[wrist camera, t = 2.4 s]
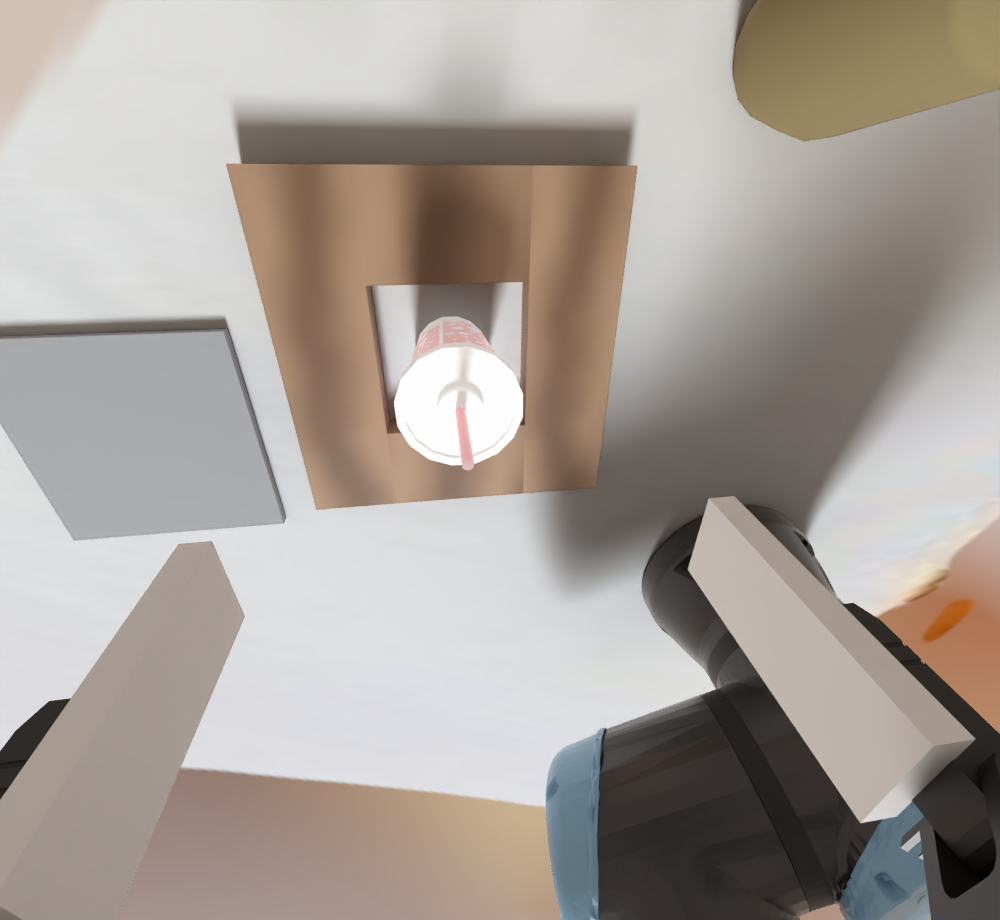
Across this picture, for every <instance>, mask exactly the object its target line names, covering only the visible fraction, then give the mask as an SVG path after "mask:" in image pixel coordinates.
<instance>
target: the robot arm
mask: <svg viewBox="0 0 1000 920" xmlns="http://www.w3.org/2000/svg"><path fill="white" fill-rule="evenodd" d="M642 592H643V597H644V600H645V603H646V605H647V606H648V608H649V610H650V612H651V614H652V616H653V618H654V620H655V621H656V623H657V624H658V625H659V627H660V628H661V629H662V630H663V631H664V632H666V633H667V634H668V635H670V636H671V637H672V638H673V639H674V640H675V642H677V643H678V644H679V645H680V646H681V647H682V648H683V649H684V650H685V651H686V652H687V653H688V654H689V655H690V656H691V657H692V658H693V659H694V660H695V661H696V662H697V663H698V664H699V665H700V666H702V667H703V668H704V670H705V671H706V672H707V674H708V675H709V677H710V679H711V681H712V682H713V684H714V686H715V688H716V690H713V691H711V692H708V693H705V694H703V695H699V696H696V697H693V698H690V699H688V700H685V701H682V702H680V703H677V704H674V705H671V706H669V707H666V708H663V709H660V710H658V711H655V712H652V713H650V714H647V715H644V716H641V717H639V718H636V719H633V720H630V721H628V722H625V723H622V724H620V725H617V726H614V727H611V728H609V729H607V728H601V729H600V730H598V732H597V734H595V735H592V736H590V737H588V738H585V739H583V740H581V741H578V742H576V743H574V744H571V745H569V746H567V747H565V748H563V749H562V750H561V751H560V752H558V753H557V755H556V756H555V758H554V759H553V761H552V763H551V766H550V769H549V773H548V778H547V786H546V820H547V835H548V844H549V854H550V860H551V869H552V875H553V881H554V887H555V892H556V897H557V902H558V906H559V911H560V916H561V920H800V918H799V916H801V915H803V914H806V913H808V912H810V911H812V910H816V909H819V908H822V907H825V906H828V905H832V904H839V905H840V911H841V912H842V914H843V916H844V918H845V919H846V920H926V919H928V918H930V917H931V920H1000V734H999V733H998V732H997V731H996V730H995V729H994V728H993V727H992V726H991V725H990V724H989V723H987V722H986V721H985V720H984V719H983V718H982V717H981V716H980V715H979V714H978V713H977V712H976V711H975V710H974V709H973V708H972V707H971V706H970V705H969V704H968V703H967V702H966V701H964V700H963V699H962V698H961V697H960V696H959V695H958V694H957V693H956V692H955V691H954V690H953V689H952V688H951V687H950V686H949V685H948V684H947V683H946V682H945V681H943V680H942V679H941V678H940V677H939V676H938V675H937V674H936V673H935V672H934V671H933V670H932V669H931V668H930V667H929V666H928V665H927V664H926V663H925V664H923V663H922V662H921V659H920V658H919V657H918V656H917V655H916V654H915V653H914V652H913V651H912V650H911V649H910V648H909V647H908V646H904V645H903V643H902V641H901V639H900V638H898V637H897V636H896V635H895V634H894V633H893V632H892V631H891V630H890V629H889V628H888V627H887V626H886V625H885V624H884V623H883V622H882V621H880V620H879V619H878V618H876V617H875V616H873V615H871V614H870V613H868V612H867V611H865V610H864V609H862V608H860V607H859V606H857V605H856V604H854V603H849V604H844V603H843V602H842V601H841V600H840V599H839V598H838V597H837V595H836V593H835V591H834V589H833V587H832V585H831V584H830V582H829V580H828V578H827V576H826V574H825V572H824V570H823V568H822V567H821V565H820V563H819V562H818V560H817V559H816V557H815V555H814V551H813V548H812V546H811V544H810V542H809V541H808V539H807V538H806V536H805V535H804V534H803V533H802V532H801V531H800V530H799V529H798V528H797V527H796V526H795V525H794V524H792V523H791V522H790V521H789V520H788V519H787V518H786V517H785V516H783V515H782V514H780V513H779V512H777V511H775V510H772V509H769V508H765V507H759V506H744V505H743V504H742V503H741V502H740V501H739V500H738V499H737V498H736V497H735V496H727V497H716V498H709V499H708V502H707V506H706V509H705V513H704V516H703V517H701V518H699V519H697V520H695V521H693V522H691V523H689V524H688V525H686V526H685V527H683V528H682V529H680V530H679V531H677V532H676V533H675V534H674V535H672V536H671V537H670V538H669V539H668V540H667V541H666V542H665V543H664V544H663V545H662V546H661V547H660V548H659V549H658V551H657V552H656V553H655V555H654V556H653V558H652V559H651V561H650V563H649V564H648V567H647V569H646V571H645V574H644V578H643V584H642ZM244 617H245V616H244V614H243V611H242V609H241V607H240V604H239V602H238V600H237V598H236V595H235V593H234V591H233V588H232V586H231V584H230V582H229V579H228V577H227V575H226V572H225V570H224V568H223V565H222V563H221V561H220V559H219V556H218V554H217V552H216V549H215V547H214V545H213V543H212V541H209V542H197V543H186V544H178V546H177V547H176V549H175V550H174V552H173V553H172V554H171V556H170V557H169V559H168V560H167V562H166V563H165V564H164V566H163V567H162V569H161V570H160V572H159V573H158V575H157V576H156V577H155V579H154V580H153V582H152V583H151V585H150V586H149V587H148V589H147V590H146V592H145V593H144V595H143V596H142V597H141V599H140V600H139V602H138V603H137V605H136V606H135V608H134V609H133V610H132V612H131V613H130V615H129V616H128V618H127V619H126V620H125V622H124V623H123V625H122V626H121V628H120V629H119V630H118V632H117V633H116V635H115V636H114V638H113V639H112V640H111V642H110V643H109V645H108V646H107V648H106V649H105V651H104V652H103V653H102V655H101V656H100V658H99V659H98V661H97V662H96V663H95V665H94V666H93V668H92V669H91V671H90V672H89V673H88V675H87V676H86V678H85V679H84V681H83V682H82V683H81V685H80V686H79V688H78V689H77V691H76V692H75V694H74V695H73V696H72V698H71V699H63V700H55V701H49V702H48V703H47V704H46V705H44V706H43V707H42V708H41V709H40V710H39V711H38V712H36V713H35V714H34V715H33V716H32V717H31V718H30V719H29V720H27V721H26V722H25V723H24V724H23V725H22V726H21V727H19V728H18V729H17V730H16V731H15V732H14V734H13V735H12V736H11V738H10V739H9V740H8V742H7V743H6V744H5V746H4V747H3V748H2V750H1V751H0V920H116V918H117V915H118V913H119V910H120V908H121V906H122V903H123V901H124V899H125V896H126V894H127V892H128V889H129V887H130V885H131V882H132V880H133V878H134V875H135V873H136V870H137V868H138V866H139V864H140V861H141V859H142V857H143V854H144V852H145V849H146V847H147V845H148V842H149V840H150V838H151V835H152V833H153V831H154V828H155V826H156V824H157V821H158V819H159V817H160V814H161V812H162V810H163V807H164V805H165V803H166V800H167V798H168V795H169V793H170V791H171V788H172V786H173V784H174V781H175V779H176V777H177V774H178V772H179V770H180V767H181V765H182V763H183V760H184V758H185V756H186V753H187V751H188V749H189V746H190V744H191V741H192V739H193V737H194V734H195V732H196V730H197V727H198V725H199V723H200V720H201V718H202V716H203V713H204V711H205V709H206V706H207V704H208V702H209V699H210V697H211V695H212V692H213V690H214V687H215V685H216V683H217V680H218V678H219V676H220V673H221V671H222V669H223V666H224V664H225V662H226V659H227V657H228V655H229V652H230V650H231V648H232V645H233V643H234V641H235V638H236V636H237V633H238V631H239V629H240V626H241V624H242V622H243V619H244Z"/></svg>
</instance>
